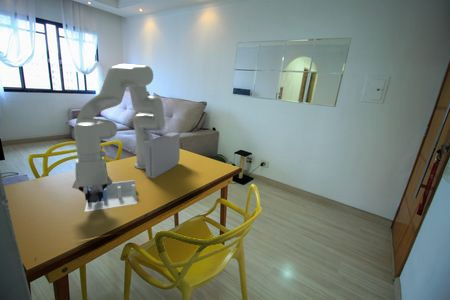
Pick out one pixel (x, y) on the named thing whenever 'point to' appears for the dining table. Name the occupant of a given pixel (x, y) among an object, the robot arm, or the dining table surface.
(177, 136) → the game console
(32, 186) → the dining table surface
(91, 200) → the cylinder
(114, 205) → the white holder rack
